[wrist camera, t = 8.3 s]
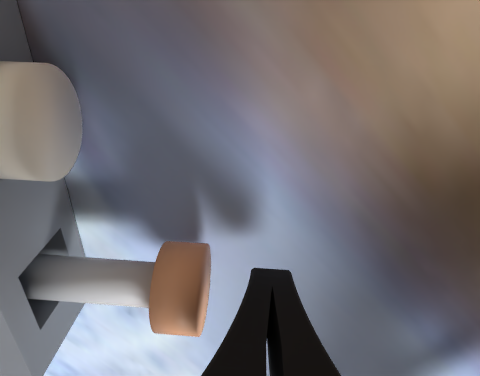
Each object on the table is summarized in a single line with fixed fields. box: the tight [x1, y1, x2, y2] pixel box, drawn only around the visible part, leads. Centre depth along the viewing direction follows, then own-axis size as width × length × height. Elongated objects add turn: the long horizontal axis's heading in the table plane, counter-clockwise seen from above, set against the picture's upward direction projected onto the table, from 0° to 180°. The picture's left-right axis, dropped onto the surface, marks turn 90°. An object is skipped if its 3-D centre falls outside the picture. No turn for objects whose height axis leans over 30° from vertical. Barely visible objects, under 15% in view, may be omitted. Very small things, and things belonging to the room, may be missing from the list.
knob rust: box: [18, 241, 211, 337], centre depth 13 cm, size 6×3×3 cm, turn 89°
